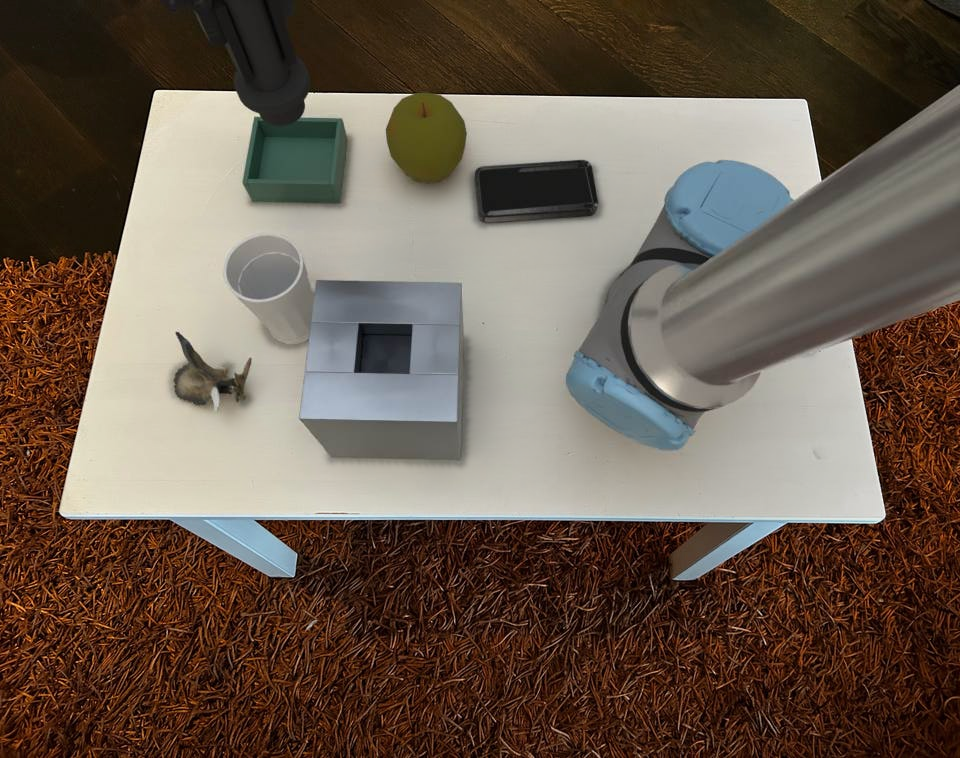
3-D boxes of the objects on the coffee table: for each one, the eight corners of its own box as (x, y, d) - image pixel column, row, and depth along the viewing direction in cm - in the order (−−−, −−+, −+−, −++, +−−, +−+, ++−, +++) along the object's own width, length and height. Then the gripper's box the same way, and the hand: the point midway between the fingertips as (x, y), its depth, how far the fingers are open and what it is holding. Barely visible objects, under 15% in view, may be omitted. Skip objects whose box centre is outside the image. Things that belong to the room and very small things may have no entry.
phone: (599, 209, 81) (479, 217, 80) (597, 215, 82) (479, 223, 81) (590, 158, 84) (474, 165, 83) (588, 164, 85) (474, 171, 84)
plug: (330, 98, 57) (284, -74, 43) (290, 146, 55) (228, -18, 41) (274, 71, 58) (210, -105, 44) (232, 118, 56) (153, -51, 42)
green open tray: (347, 139, 86) (342, 117, 82) (340, 203, 82) (334, 184, 79) (263, 137, 86) (254, 116, 82) (252, 201, 82) (242, 182, 79)
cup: (317, 356, 75) (289, 308, 64) (251, 343, 75) (211, 293, 64) (336, 296, 78) (313, 240, 66) (272, 284, 78) (238, 226, 67)
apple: (471, 192, 83) (471, 131, 73) (395, 201, 82) (384, 140, 72) (461, 131, 87) (459, 64, 76) (388, 138, 86) (377, 72, 76)
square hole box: (464, 342, 76) (461, 282, 62) (460, 460, 70) (457, 421, 57) (343, 340, 76) (316, 279, 62) (331, 457, 70) (298, 418, 57)
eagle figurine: (264, 351, 74) (188, 323, 73) (242, 364, 67) (156, 334, 66) (246, 411, 75) (171, 385, 75) (222, 430, 68) (139, 401, 68)
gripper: (242, -433, 32) (335, -4, 54) (-89, -349, 29) (151, 69, 51) (307, -363, 30) (376, 55, 52) (-44, -264, 27) (187, 135, 49)
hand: (264, 61), depth 52 cm, fingers closed on plug, 3 cm apart
